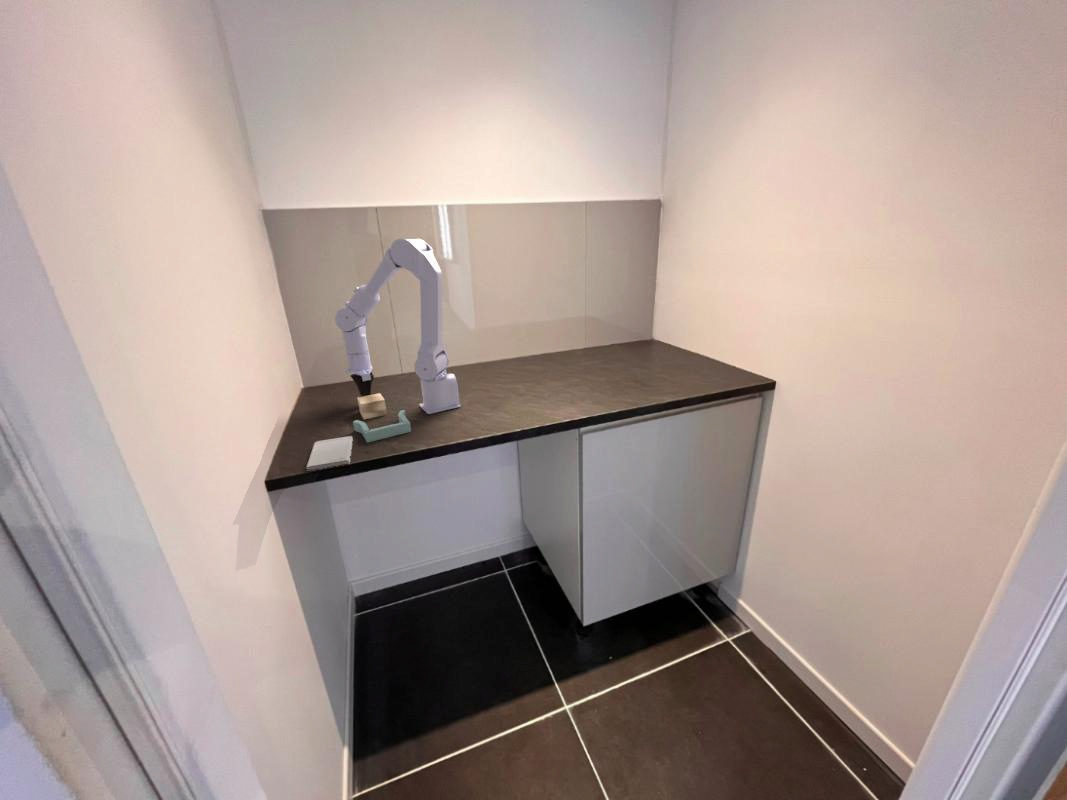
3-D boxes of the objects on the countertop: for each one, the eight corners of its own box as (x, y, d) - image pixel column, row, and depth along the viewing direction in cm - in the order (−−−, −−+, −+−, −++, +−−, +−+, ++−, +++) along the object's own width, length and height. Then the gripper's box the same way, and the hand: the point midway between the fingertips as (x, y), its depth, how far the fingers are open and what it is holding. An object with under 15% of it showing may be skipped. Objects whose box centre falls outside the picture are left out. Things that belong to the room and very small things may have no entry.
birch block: (382, 408, 118) (380, 393, 116) (387, 415, 113) (384, 399, 111) (360, 412, 115) (357, 397, 113) (363, 420, 110) (360, 404, 108)
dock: (405, 418, 110) (404, 409, 109) (416, 430, 103) (414, 421, 102) (354, 430, 104) (352, 420, 103) (361, 444, 96) (359, 434, 96)
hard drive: (348, 459, 88) (352, 435, 98) (305, 467, 85) (313, 441, 96) (350, 466, 88) (353, 441, 99) (307, 474, 86) (315, 447, 97)
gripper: (338, 349, 118) (347, 393, 123) (346, 360, 107) (356, 409, 112) (364, 345, 122) (371, 389, 127) (375, 355, 110) (383, 403, 115)
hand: (366, 398), depth 119 cm, fingers closed
